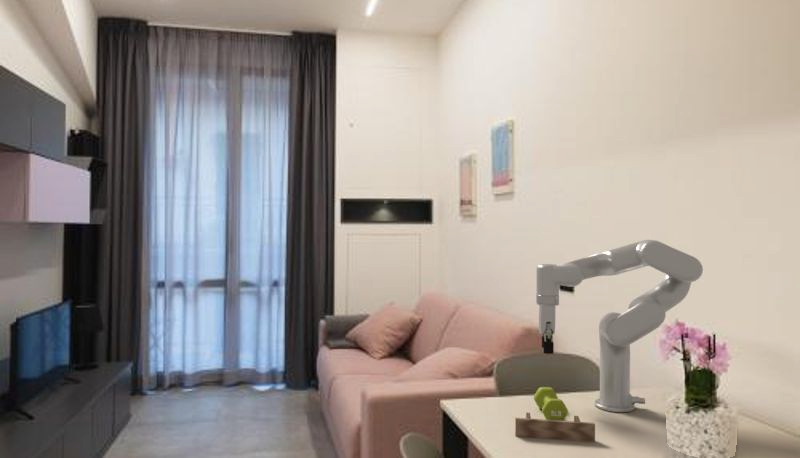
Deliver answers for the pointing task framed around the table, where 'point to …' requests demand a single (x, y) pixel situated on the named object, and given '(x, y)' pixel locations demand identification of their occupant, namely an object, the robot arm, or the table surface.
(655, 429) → the table surface
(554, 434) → the walnut bay
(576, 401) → the table surface
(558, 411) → the dumbbell
